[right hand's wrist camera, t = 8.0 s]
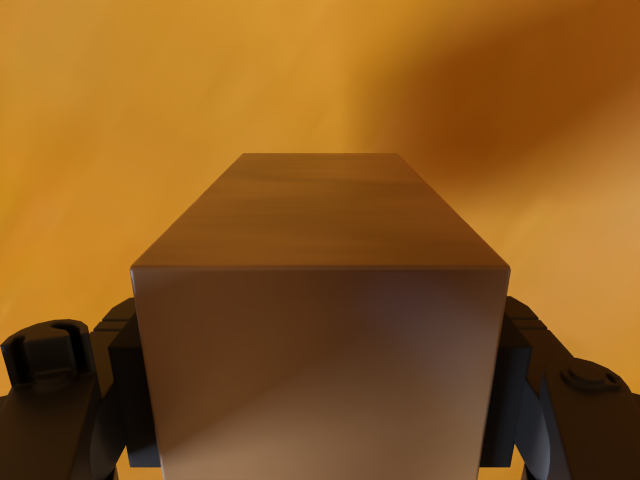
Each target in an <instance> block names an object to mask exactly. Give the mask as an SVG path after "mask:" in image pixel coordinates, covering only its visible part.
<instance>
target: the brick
mask: <svg viewBox="0 0 640 480" xmlns="http://www.w3.org/2000/svg"><path fill="white" fill-rule="evenodd" d="M510 272H511V269H510V266H509V265H508V264H507V263H506V262H505V261H504V260H503V259H502V258H501V257H500V256H499V255H498V254H497V253H496V252H495V251H494V250H493V249H492V248H491V247H490V246H489V245H488V244H487V243H486V242H485V241H484V240H483V239H482V238H481V237H480V236H479V235H478V234H477V233H476V232H475V231H474V230H473V229H472V228H471V227H470V226H469V225H468V224H467V223H466V222H465V221H464V220H463V219H462V218H461V217H460V216H459V215H458V214H457V213H456V212H455V211H454V210H453V209H452V208H451V207H450V206H449V205H448V204H447V203H446V202H445V201H444V200H443V199H442V198H441V197H440V196H439V195H438V194H437V193H436V192H435V191H434V190H433V189H432V188H431V187H430V186H429V185H428V184H427V183H426V182H425V181H424V180H423V179H422V178H421V177H420V176H419V175H418V174H417V173H416V172H415V171H414V170H413V169H412V168H411V167H410V166H409V165H408V164H407V163H406V162H405V161H404V160H403V159H402V158H401V157H400V156H399V155H398V154H396V153H244V154H242V155H241V156H240V157H239V158H238V159H237V160H236V161H235V162H234V163H233V164H232V165H231V166H230V167H229V168H228V169H227V170H226V171H225V172H224V173H223V174H222V175H221V176H220V177H219V178H218V179H217V180H216V181H215V182H214V183H213V184H212V185H211V186H210V187H209V188H208V189H207V190H206V191H205V192H204V193H203V194H202V195H201V196H200V197H199V198H198V199H197V200H196V201H195V202H194V203H193V204H192V205H191V206H190V207H189V208H188V209H187V210H186V211H185V212H184V213H183V214H182V215H181V216H180V217H179V218H178V219H177V220H176V221H175V222H174V223H173V224H172V225H171V226H170V227H169V228H168V229H167V230H166V231H165V232H164V233H163V234H162V235H161V236H160V237H159V238H158V239H157V240H156V241H155V242H154V243H153V244H152V245H151V246H150V247H149V248H148V249H147V250H146V251H145V252H144V253H143V254H142V255H141V256H140V257H139V258H138V259H137V260H136V261H135V262H134V263H133V264H132V265H131V267H130V275H131V281H132V288H133V294H134V300H135V306H136V313H137V319H138V325H139V332H140V338H141V344H142V350H143V357H144V363H145V369H146V375H147V382H148V388H149V394H150V401H151V407H152V413H153V419H154V426H155V432H156V438H157V445H158V451H159V457H160V463H161V470H162V476H163V480H477V478H478V472H479V466H480V460H481V453H482V447H483V441H484V434H485V428H486V422H487V416H488V409H489V403H490V397H491V391H492V384H493V378H494V372H495V366H496V359H497V353H498V347H499V341H500V334H501V328H502V322H503V315H504V309H505V303H506V297H507V290H508V284H509V278H510Z"/></svg>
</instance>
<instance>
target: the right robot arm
mask: <svg viewBox="0 0 640 480" xmlns="http://www.w3.org/2000/svg"><path fill="white" fill-rule="evenodd" d="M0 347H1V350H2V354H3V357H4V361H5V364H6V368H7V371H8V375H9V378H10V382H11V385H12V388H11V390H10V392H9V394H8V395H6V396H2V397H0V480H119V479H118V473H117V468H116V463H117V461H118V459H119V457H120V455H121V453H122V452H123V450H124V448H125V446H126V447H127V453H128V458H129V463H130V467H161V463H160V457H159V451H158V445H157V438H156V432H155V426H154V419H153V413H152V407H151V401H150V394H149V388H148V382H147V375H146V369H145V363H144V357H143V350H142V344H141V338H140V332H139V325H138V319H137V313H136V306H135V300H134V298H129V299H127V300H125V301H123V302H122V303H120V304H118V305H117V306H115V307H113V308H112V309H111V310H110V311H109V312H108V314H107V315H106V316H105V317H104V318H103V319H102V322H99V324H98V325H97V326H96V327H95V328H94V331H93V332H91V333H90V334H89V331H88V326H87V325H85V324H84V323H83V322H81V321H77V320H71V319H63V320H52V321H47V322H42V323H38V324H35V325H32V326H30V327H27V328H24V329H22V330H20V331H18V332H17V333H15V334H13V335H11V336H10V337H8V338H7V339H6V340H5V341H4V342H3V343H2V344H1V345H0ZM514 444H515V445H516V447H517V449H518V450H519V452H520V454H521V456H522V458H523V460H524V462H525V463H524V468H523V473H522V478H521V480H640V395H638V394H635V393H631V391H630V389H629V387H628V386H627V384H626V383H625V382H624V381H623V380H622V378H621V377H620V376H618V375H617V374H615V373H614V372H612V371H611V370H609V369H608V368H606V367H603V366H601V365H599V364H596V363H594V362H591V361H587V360H583V359H579V358H574V357H573V356H572V355H571V353H570V352H569V351H568V350H567V349H566V348H565V347H564V346H563V345H562V343H561V342H560V341H559V340H558V339H557V338H556V337H555V336H554V335H553V333H552V332H551V331H550V330H547V327H546V326H545V325H544V323H543V322H542V321H541V320H538V317H537V316H536V315H535V314H534V312H533V311H532V310H531V309H530V308H529V307H528V306H527V305H525V304H523V303H521V302H520V301H518V300H516V299H515V298H513V297H511V296H507V297H506V303H505V309H504V315H503V322H502V328H501V334H500V341H499V347H498V353H497V359H496V366H495V372H494V378H493V384H492V391H491V397H490V403H489V409H488V416H487V422H486V428H485V434H484V441H483V447H482V453H481V460H480V466H479V467H510V465H511V460H512V454H513V449H514Z"/></svg>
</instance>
